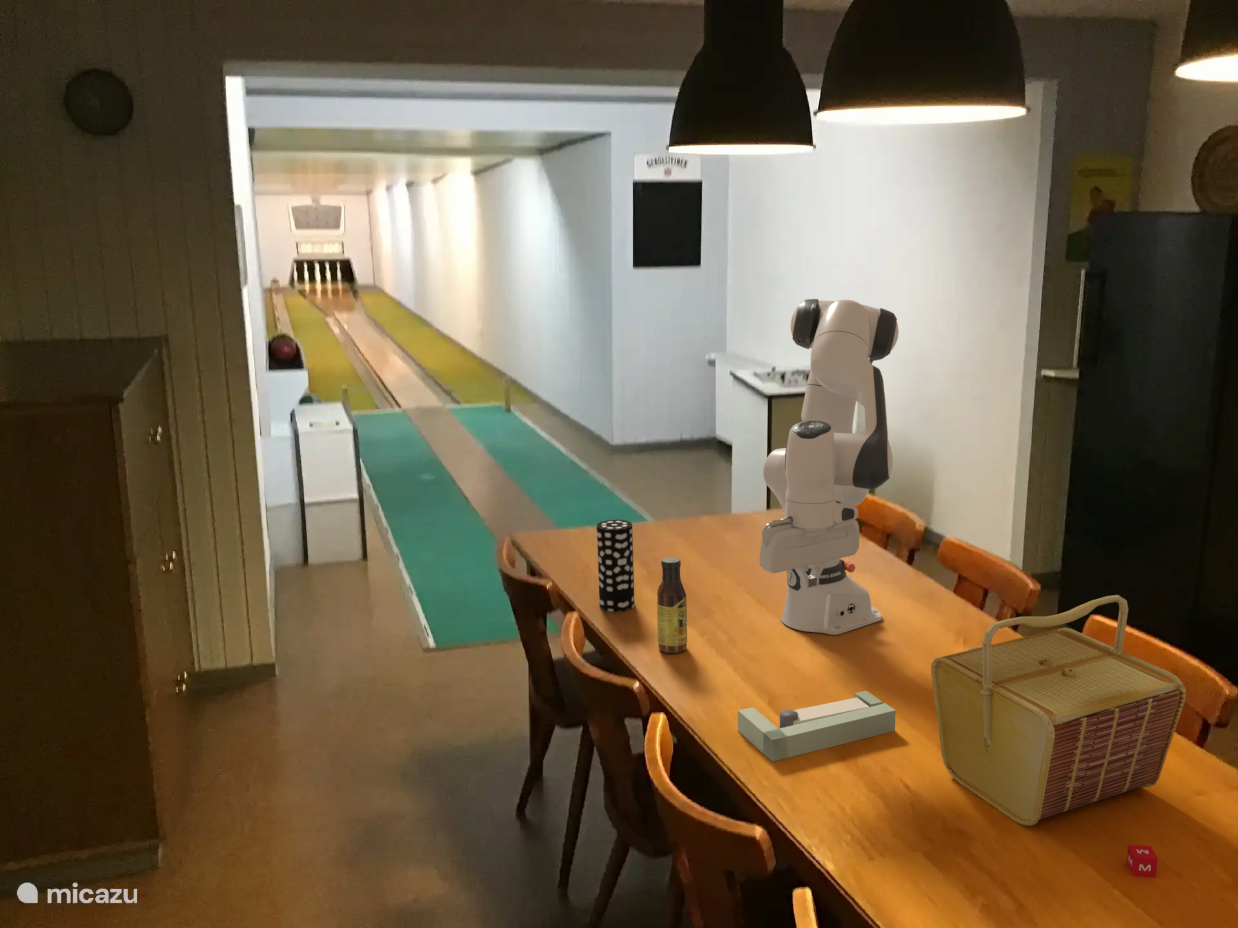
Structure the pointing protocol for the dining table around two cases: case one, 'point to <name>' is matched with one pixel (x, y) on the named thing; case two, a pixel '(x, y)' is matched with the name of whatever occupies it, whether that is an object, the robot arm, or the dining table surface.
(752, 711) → the frame
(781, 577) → the dining table surface
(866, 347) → the robot arm
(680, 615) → the sauce bottle
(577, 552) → the dining table surface
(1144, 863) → the dice
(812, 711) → the bar
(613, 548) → the white-spotted black cylinder
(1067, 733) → the picnic basket
